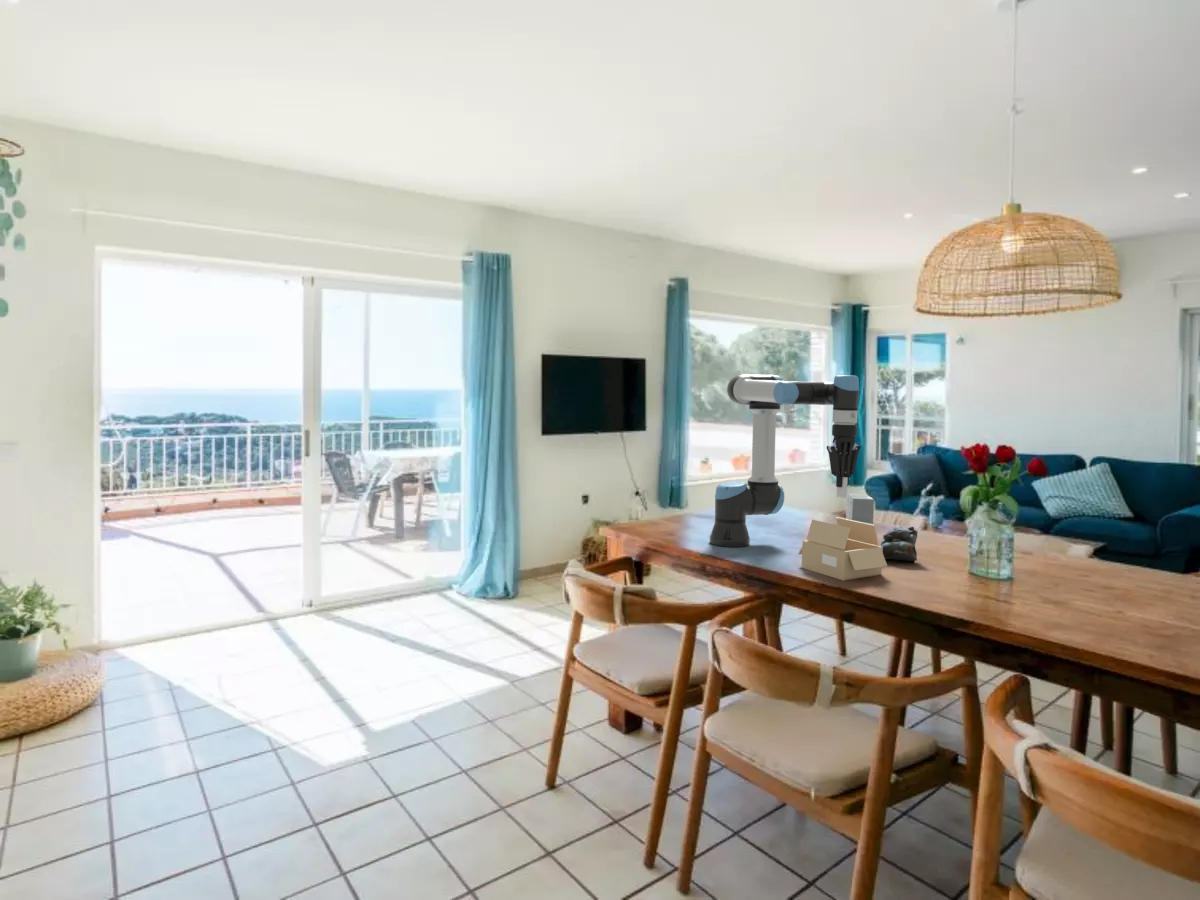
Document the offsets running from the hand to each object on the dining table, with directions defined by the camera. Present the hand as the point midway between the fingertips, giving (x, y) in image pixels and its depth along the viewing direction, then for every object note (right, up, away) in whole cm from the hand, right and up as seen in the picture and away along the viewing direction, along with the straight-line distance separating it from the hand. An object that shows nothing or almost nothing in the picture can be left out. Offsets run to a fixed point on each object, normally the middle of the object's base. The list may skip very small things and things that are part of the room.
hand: (841, 497), depth 227 cm
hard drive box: (+19, -22, +37) cm, 47 cm away
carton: (0, -24, +2) cm, 24 cm away
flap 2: (+6, -11, +4) cm, 14 cm away
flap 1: (-5, -12, -2) cm, 13 cm away
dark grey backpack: (+25, -24, +19) cm, 39 cm away
